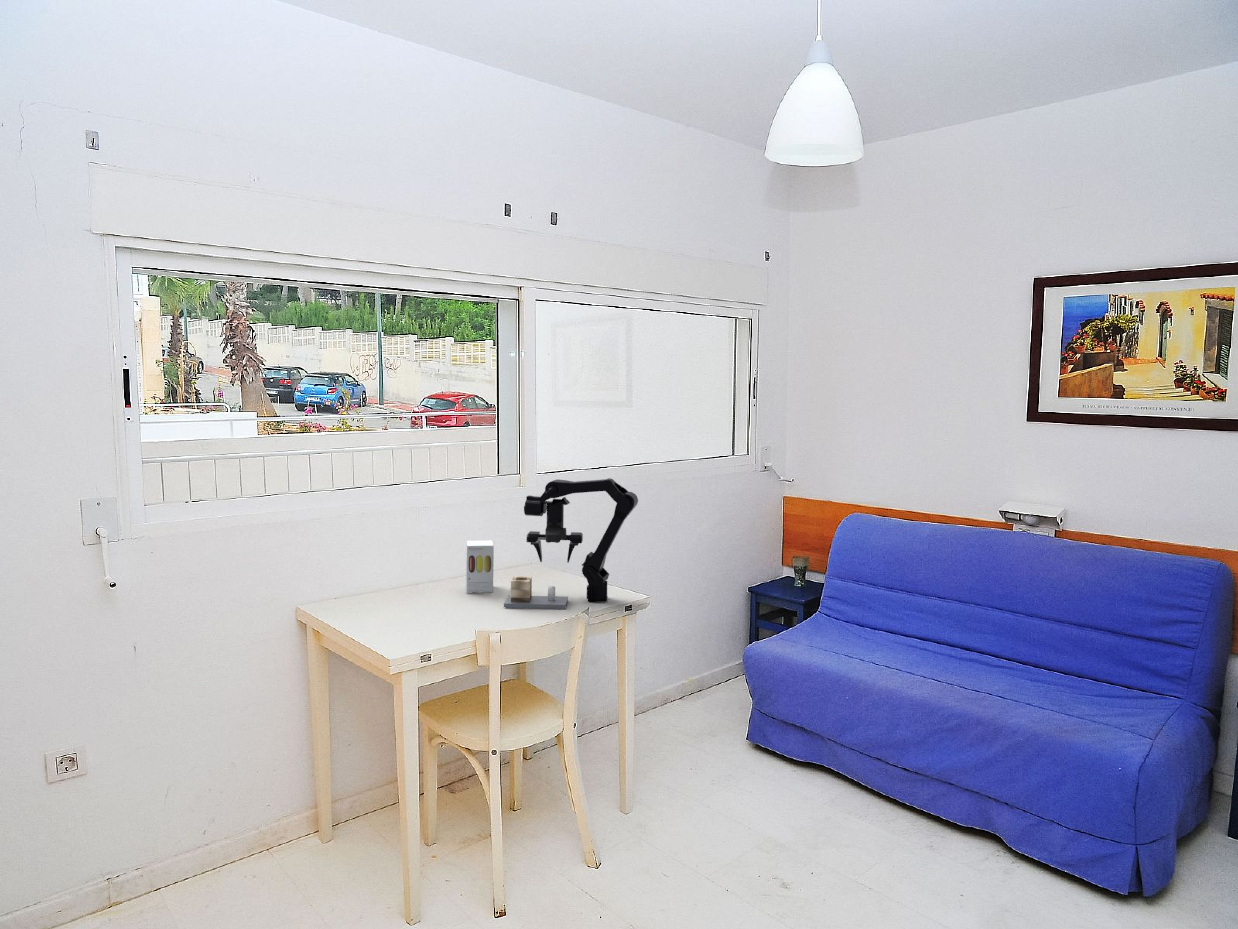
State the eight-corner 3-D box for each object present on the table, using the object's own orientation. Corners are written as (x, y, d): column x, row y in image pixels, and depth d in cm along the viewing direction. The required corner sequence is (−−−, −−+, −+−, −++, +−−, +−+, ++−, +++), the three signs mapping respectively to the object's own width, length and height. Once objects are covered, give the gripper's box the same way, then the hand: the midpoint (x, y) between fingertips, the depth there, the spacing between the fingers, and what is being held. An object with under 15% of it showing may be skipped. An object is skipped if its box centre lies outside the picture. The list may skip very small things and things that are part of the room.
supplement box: (466, 593, 279) (465, 545, 277) (465, 586, 288) (465, 540, 286) (494, 592, 281) (494, 545, 279) (492, 585, 290) (492, 539, 288)
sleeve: (531, 597, 270) (531, 576, 269) (529, 602, 264) (529, 581, 263) (513, 597, 270) (513, 576, 270) (510, 602, 264) (510, 581, 264)
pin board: (567, 600, 272) (568, 583, 272) (565, 609, 262) (565, 591, 262) (508, 599, 272) (508, 582, 272) (503, 608, 263) (503, 590, 262)
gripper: (524, 520, 266) (524, 567, 268) (581, 521, 266) (580, 568, 268) (528, 514, 277) (528, 559, 279) (583, 516, 277) (582, 560, 279)
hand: (554, 562), depth 276 cm, fingers open, 9 cm apart
